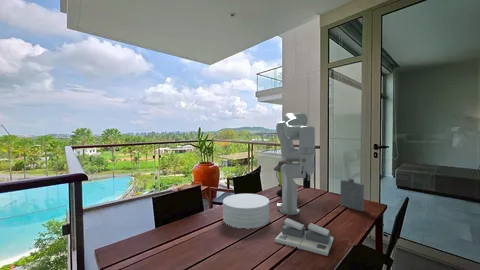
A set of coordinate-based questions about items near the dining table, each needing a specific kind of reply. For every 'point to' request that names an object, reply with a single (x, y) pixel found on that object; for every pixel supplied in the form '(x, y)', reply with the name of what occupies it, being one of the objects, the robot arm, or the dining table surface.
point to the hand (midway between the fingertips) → (306, 187)
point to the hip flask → (352, 194)
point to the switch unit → (305, 239)
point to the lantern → (278, 169)
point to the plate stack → (246, 210)
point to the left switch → (294, 224)
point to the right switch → (318, 229)
